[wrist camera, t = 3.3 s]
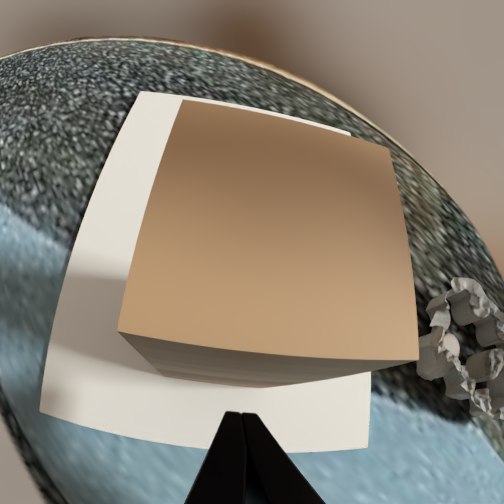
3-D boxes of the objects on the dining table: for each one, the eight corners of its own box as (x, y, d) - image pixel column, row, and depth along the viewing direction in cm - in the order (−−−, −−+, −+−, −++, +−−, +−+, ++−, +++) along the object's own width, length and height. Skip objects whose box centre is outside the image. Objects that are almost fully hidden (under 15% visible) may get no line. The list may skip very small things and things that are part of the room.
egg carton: (395, 362, 18) (437, 351, 15) (433, 281, 22) (468, 259, 18) (477, 431, 17) (516, 427, 13) (503, 354, 20) (538, 342, 17)
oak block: (261, 388, 16) (419, 359, 5) (163, 376, 15) (116, 331, 4) (268, 297, 18) (388, 148, 7) (177, 283, 17) (182, 99, 6)
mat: (362, 446, 15) (367, 447, 15) (42, 411, 13) (39, 411, 12) (347, 136, 26) (350, 132, 26) (141, 95, 23) (140, 91, 23)
